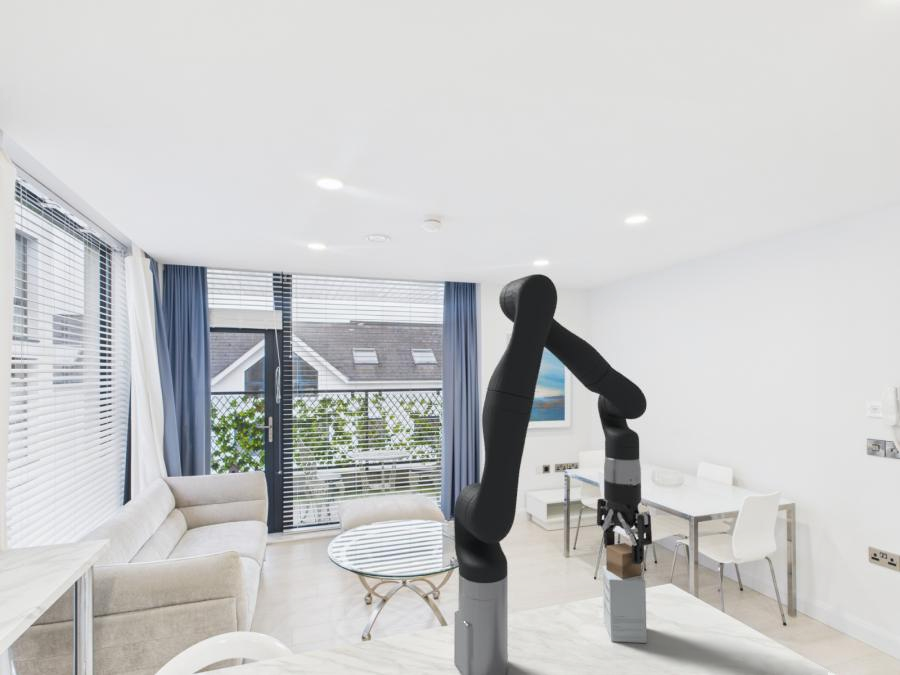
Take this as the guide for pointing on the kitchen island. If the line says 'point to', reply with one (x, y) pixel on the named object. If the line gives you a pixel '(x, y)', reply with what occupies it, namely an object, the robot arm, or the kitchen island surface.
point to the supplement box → (624, 607)
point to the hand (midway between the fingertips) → (623, 555)
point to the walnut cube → (622, 561)
